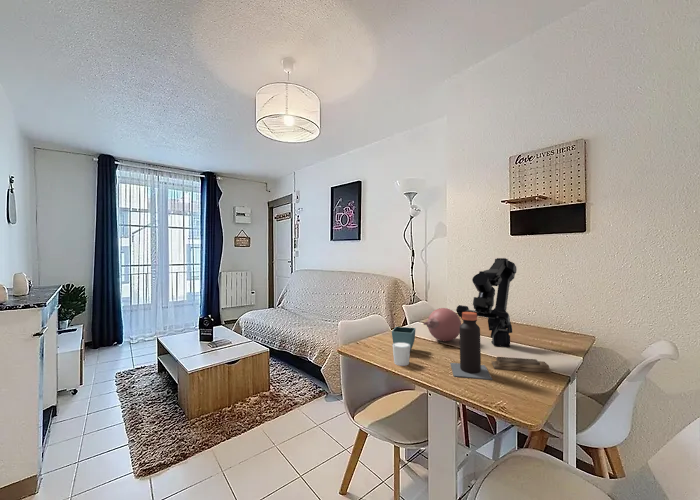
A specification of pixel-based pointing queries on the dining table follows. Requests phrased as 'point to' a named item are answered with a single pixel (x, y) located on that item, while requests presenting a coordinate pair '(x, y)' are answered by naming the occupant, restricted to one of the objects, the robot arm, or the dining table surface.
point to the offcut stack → (521, 364)
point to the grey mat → (459, 373)
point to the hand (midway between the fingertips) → (478, 334)
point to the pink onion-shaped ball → (444, 324)
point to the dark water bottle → (470, 343)
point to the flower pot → (403, 335)
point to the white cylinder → (401, 353)
